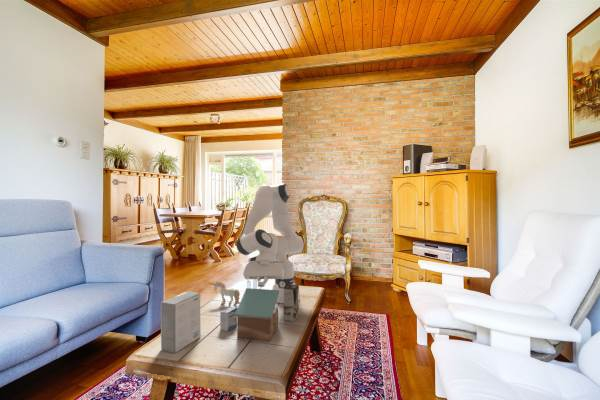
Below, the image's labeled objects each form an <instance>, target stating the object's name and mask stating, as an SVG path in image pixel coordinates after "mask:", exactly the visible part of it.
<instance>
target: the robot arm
mask: <svg viewBox="0 0 600 400" xmlns="http://www.w3.org/2000/svg"><path fill="white" fill-rule="evenodd" d="M290 191H291V190H290V187H289V186H288V185H287V184H286V183H279V184H274V185H268V184H262V185H261V186H259V187H258V189H257V191H256V193H255V197H254V201H253V204H252V207H251V209H250V210H249V213H248V214H247V217H246V219H245V221H244V225H243V227H242V231H241V233H240V236H238V238H237V239H236V244H235V245H236V249H237V251H238V252H239V254H242V255H243V256H249V255H250V254H252V253H254V252H256V251H258V252H259V253H258V255H256V256H252V257H249V258H248V263H247V264H246V265H245V267H244V269H243V273H242V274H243V278H244V279H245V280H257V287H258V288H261V287H262V288H263V287H265V285H266V284H267V282H268V281H269V280H274V284H273V285H272V290H279V295H278V298H277V302H276V304H277V303H278V304H284V288H285V287H286V286H287V285H296V283H295V275H294V268H295V267H294V264H293V262H292V261H291V260H288V259H287V255H294V254H295V255H296V254H298V253H301V252H302V251H303V249H304V240H303V239H302V237H300V236H299V235H298V234H296V232H295V230H294V228H293V227H292V222H291V216H290V215H291V214H290V210H289V207H288V201H289V198H290V197H291V192H290ZM270 214H271V217H272V225H273V229H274V230H275V231H276V232H278V233H279V234H280V235H281V237H280V236H279V237H278V236H277V235H276V234H275V233H272V232H267V231H266V230H264V229H260V228H258V229H256V227H257V225H258V224H259V223H260V222H261V221H263V220H264V219H265V218H266V217H268V216H270ZM255 229H256V230H255ZM262 280H263V281H262Z"/></svg>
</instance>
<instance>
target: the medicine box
mask: <svg viewBox="0 0 600 400" xmlns="http://www.w3.org/2000/svg"><path fill="white" fill-rule="evenodd" d="M237 309H238V307H236V306H228V307H227V308H225V309H223V310H222V311H220V316H219V317H220V319H219V321H220V323H219V324H220V326H219V328H220V330H221V331H225V332H229V331H230V330H232V329H233V328H234V327H237V316H236V311H237Z"/></svg>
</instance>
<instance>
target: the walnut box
mask: <svg viewBox="0 0 600 400" xmlns="http://www.w3.org/2000/svg"><path fill="white" fill-rule="evenodd" d="M236 327H237V329H236V331H237V333H236V336H237V337H236V339H238V340H239V339H240V340H249V341H259V342H269V343H270V342H271V340H272V339H273V337H274V335H275V334H276V332H277V331H278V329H279V307H275V309H274V312H273V315H272V319H260V318H249V317H237V325H236Z"/></svg>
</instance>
